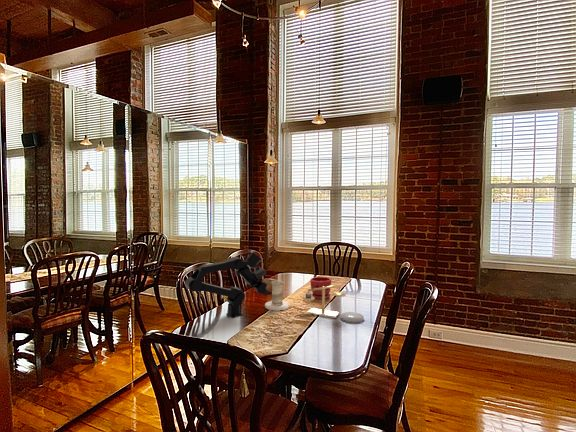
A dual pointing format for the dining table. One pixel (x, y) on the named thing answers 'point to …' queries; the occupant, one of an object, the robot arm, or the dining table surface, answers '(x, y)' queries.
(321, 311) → the brass balance
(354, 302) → the dining table surface
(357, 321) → the slate dish
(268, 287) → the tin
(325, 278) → the plant pot
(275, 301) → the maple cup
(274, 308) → the cream dish
